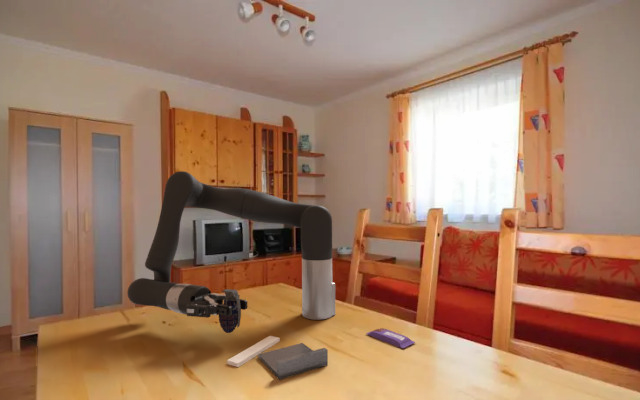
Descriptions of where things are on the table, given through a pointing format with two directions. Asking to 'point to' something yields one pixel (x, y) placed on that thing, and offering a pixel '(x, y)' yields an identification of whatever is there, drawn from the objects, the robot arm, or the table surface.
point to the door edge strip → (252, 351)
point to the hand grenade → (234, 319)
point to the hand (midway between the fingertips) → (238, 308)
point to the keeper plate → (294, 360)
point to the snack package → (391, 337)
